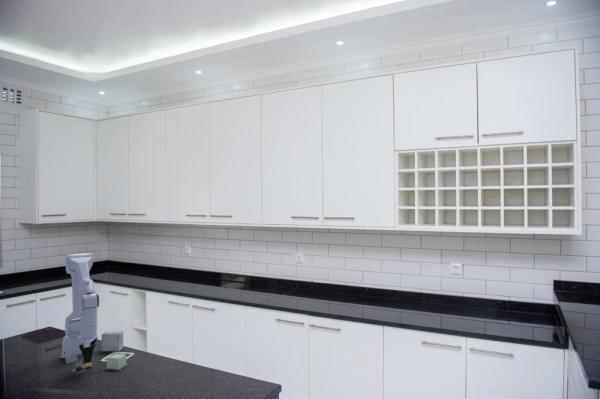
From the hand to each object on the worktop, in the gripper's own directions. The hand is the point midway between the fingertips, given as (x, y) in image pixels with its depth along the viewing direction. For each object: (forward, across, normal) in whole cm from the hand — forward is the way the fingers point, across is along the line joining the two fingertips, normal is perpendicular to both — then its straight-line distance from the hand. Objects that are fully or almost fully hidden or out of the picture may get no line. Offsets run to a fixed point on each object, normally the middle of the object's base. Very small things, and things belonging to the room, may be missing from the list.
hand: (88, 359), depth 151 cm
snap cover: (+4, +2, +10) cm, 11 cm away
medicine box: (+5, -19, +8) cm, 21 cm away
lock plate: (+5, +1, +2) cm, 5 cm away
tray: (+5, -8, +10) cm, 14 cm away
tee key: (+3, 0, -3) cm, 5 cm away
